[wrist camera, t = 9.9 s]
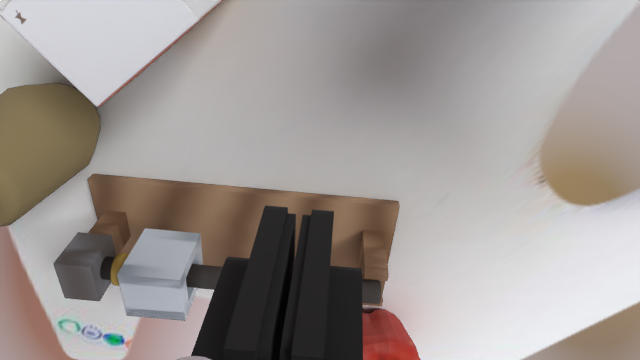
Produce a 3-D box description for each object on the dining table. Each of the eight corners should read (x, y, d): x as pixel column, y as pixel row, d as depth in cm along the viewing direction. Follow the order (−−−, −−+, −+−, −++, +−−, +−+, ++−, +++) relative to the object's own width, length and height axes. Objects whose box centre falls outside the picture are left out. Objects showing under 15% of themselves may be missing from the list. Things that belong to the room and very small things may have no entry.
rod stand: (398, 201, 42) (409, 268, 35) (382, 277, 48) (389, 350, 40) (92, 173, 42) (37, 234, 35) (111, 253, 48) (67, 320, 40)
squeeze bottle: (120, 91, 38) (-33, 223, 22) (108, 166, 42) (-29, 321, 27) (21, 54, 36) (-213, 167, 21) (18, 136, 40) (-178, 280, 25)
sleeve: (200, 233, 40) (180, 280, 35) (203, 272, 43) (185, 320, 38) (144, 228, 40) (117, 274, 35) (151, 267, 43) (126, 315, 38)
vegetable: (369, 273, 47) (373, 355, 39) (440, 316, 50) (458, 400, 42) (309, 326, 52) (302, 408, 44) (377, 362, 55) (382, 446, 47)
